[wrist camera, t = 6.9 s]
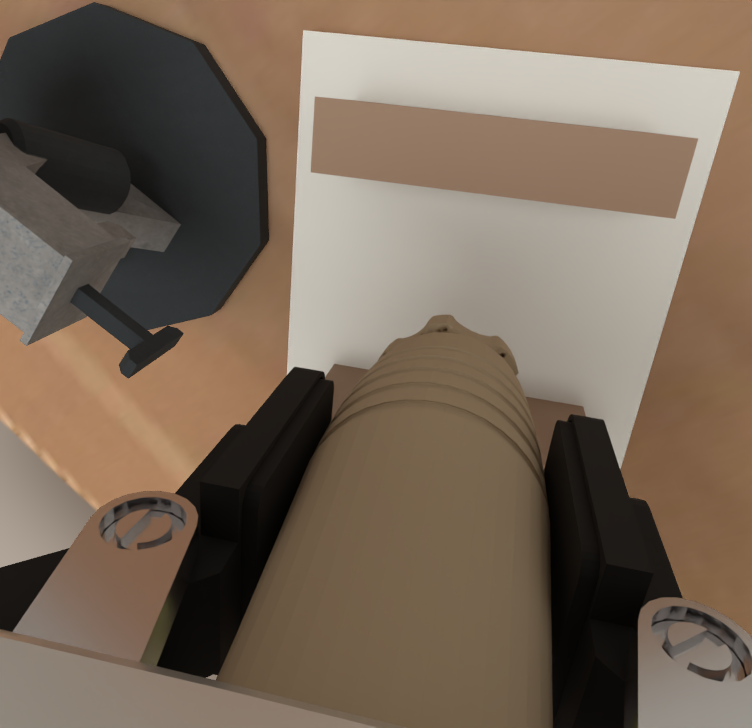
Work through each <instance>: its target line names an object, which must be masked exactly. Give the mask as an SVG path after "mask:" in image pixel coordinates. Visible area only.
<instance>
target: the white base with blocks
mask: <svg viewBox="0 0 752 728" xmlns="http://www.w3.org/2000/svg"><path fill="white" fill-rule="evenodd" d="M739 73H740V72H739V71H729V70H718V69H708V68H697V67H687V66H676V65H665V64H655V63H644V62H634V61H623V60H612V59H602V58H591V57H581V56H570V55H559V54H549V53H538V52H528V51H517V50H507V49H496V48H485V47H475V46H464V45H454V44H443V43H432V42H422V41H411V40H401V39H390V38H379V37H369V36H358V35H348V34H337V33H327V32H316V31H305V30H303V46H302V67H301V88H300V109H299V130H298V151H297V172H296V193H295V214H294V235H293V256H292V277H291V298H290V319H289V340H288V361H287V375H288V373H289V372H290V371H291V370H292V368H294V367H300V368H306V369H312V370H318V371H323V372H324V374H325V380H331V381H333V382H334V396H333V408H332V419H333V417H334V416H335V414H336V413H337V411H338V410H339V408H340V407H341V405H342V404H343V402H344V401H345V399H346V398H347V396H348V395H349V394H350V393H351V391H352V390H353V388H354V387H355V386H356V384H357V383H358V382H359V381H360V380H361V378H362V377H363V376H364V375H365V374H366V373H367V372H368V370H369V369H370V368H371V367H372V366H373V365H374V364H375V363H376V362H377V361H378V359H379V357H380V356H381V355H382V353H383V352H384V350H385V349H386V348H387V347H388V346H389V344H390V343H392V342H393V341H394V340H396V339H397V338H406V337H410V336H412V335H414V334H416V333H417V332H419V331H420V330H421V329H422V328H424V327H425V325H426V324H427V322H428V321H429V319H430V318H432V317H433V316H436V315H449V314H450V315H452V316H453V317H454V318H455V320H456V321H457V322H459V323H460V324H461V325H462V326H464V327H466V328H467V329H469V330H471V331H473V332H476V333H478V334H481V335H485V336H499V337H500V338H501V339H502V340H503V341H504V342H505V343H506V344H507V346H508V347H509V349H510V350H511V352H512V354H513V356H514V358H515V361H516V365H517V368H518V374H517V375H516V377H517V379H518V380H519V383H520V385H521V387H522V389H523V391H524V394H525V397H526V400H527V402H528V405H529V408H530V411H531V414H532V417H533V422H534V426H535V430H536V434H537V439H538V443H539V447H540V452H541V458H542V464H543V470H544V468H545V464H546V460H547V456H548V451H549V447H550V443H551V439H552V435H553V431H554V427H555V424H556V422H557V420H562V421H567V420H568V418H569V416H570V415H571V414H574V415H580V416H586V417H591V418H597V419H603V420H604V422H605V424H606V428H607V431H608V434H609V437H610V440H611V443H612V446H613V449H614V452H615V455H616V458H617V461H618V465H619V468H620V469H621V466H622V462H623V459H624V456H625V452H626V449H627V446H628V442H629V439H630V436H631V432H632V429H633V426H634V422H635V419H636V416H637V412H638V409H639V406H640V402H641V399H642V396H643V392H644V389H645V386H646V383H647V379H648V376H649V373H650V369H651V366H652V363H653V359H654V356H655V353H656V349H657V346H658V343H659V339H660V336H661V333H662V329H663V326H664V323H665V319H666V316H667V313H668V309H669V306H670V303H671V299H672V296H673V293H674V289H675V286H676V283H677V280H678V276H679V273H680V270H681V266H682V263H683V260H684V256H685V253H686V250H687V246H688V243H689V240H690V236H691V233H692V230H693V226H694V223H695V220H696V216H697V213H698V210H699V206H700V203H701V200H702V196H703V193H704V190H705V186H706V183H707V180H708V176H709V173H710V170H711V167H712V163H713V160H714V157H715V153H716V150H717V147H718V143H719V140H720V137H721V133H722V130H723V127H724V123H725V120H726V117H727V113H728V110H729V107H730V103H731V100H732V97H733V93H734V90H735V87H736V83H737V80H738V77H739ZM331 421H332V420H331Z"/></svg>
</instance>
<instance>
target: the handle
mask: <svg viewBox="0 0 752 728" xmlns="http://www.w3.org/2000/svg"><path fill="white" fill-rule="evenodd" d="M517 374H518V368H517V365H516V361H515V358H514V356H513V354H512V352H511V350H510V349H509V347H508V346H507V344H506V343H505V342H504V341H503V340H502V339H501V338H500V337H499V336H485V335H481V334H478V333H476V332H473V331H471V330H469V329H467V328H466V327H464V326H462V325H461V324H460V323H459V322H457V321H456V320H455V318H454V317H453V316H452V315H450V314H449V315H436V316H433V317H432V318H430V319H429V321H428V322H427V324H426V325H425V327H424V328H422V329H421V330H420V331H419V332H417V333H416V334H414V335H412V336H410V337H406V338H397V339H396V340H394V341H393V342H392V343H390V344H389V346H388V347H387V348H386V349H385V350H384V352H383V353H382V355H381V356H380V357H379V359H378V361H377V362H376V363H375V364H374V365H373V366H372V367H371V368H370V369H369V370H368V372H367V373H366V374H365V375H364V376H363V377H362V378H361V380H360V381H359V382H358V383H357V384H356V386H355V387H354V388H353V390H352V391H351V393H350V394H349V395H348V396H347V398H346V399H345V401H344V402H343V404H342V405H341V407H340V408H339V410H338V411H337V413H336V414H335V416H334V417H333V419H332V421H331V422H330V424H329V426H328V428H327V429H326V431H325V434H324V435H323V437H322V438H321V440H320V442H319V444H318V446H317V448H316V449H315V451H314V454H313V456H312V458H311V459H310V461H309V463H308V466H307V468H306V470H305V473H304V475H303V477H302V480H301V482H300V484H299V487H298V489H297V491H296V494H295V496H294V499H293V501H292V503H291V506H290V508H289V511H288V513H287V515H286V518H285V520H284V522H283V525H282V527H281V530H280V532H279V534H278V537H277V539H276V541H275V544H274V546H273V549H272V551H271V553H270V556H269V558H268V560H267V563H266V565H265V568H264V570H263V572H262V575H261V577H260V579H259V582H258V584H257V587H256V589H255V591H254V594H253V596H252V598H251V601H250V603H249V606H248V608H247V610H246V613H245V615H244V617H243V620H242V622H241V625H240V627H239V629H238V632H237V634H236V636H235V638H234V641H233V643H232V645H231V647H230V650H229V652H228V654H227V656H226V659H225V661H224V663H223V665H222V668H221V670H220V672H219V674H218V676H217V679H216V681H220V682H224V683H228V684H232V685H236V686H240V687H244V688H249V689H253V690H257V691H261V692H265V693H269V694H273V695H277V696H281V697H285V698H289V699H293V700H297V701H301V702H305V703H309V704H313V705H317V706H321V707H326V708H330V709H334V710H338V711H342V712H346V713H350V714H354V715H358V716H362V717H366V718H370V719H374V720H378V721H382V722H386V723H390V724H394V725H398V726H402V727H406V728H553V700H552V618H551V536H550V517H549V507H548V499H547V492H546V484H545V476H544V470H543V464H542V458H541V452H540V447H539V443H538V439H537V434H536V430H535V426H534V422H533V417H532V414H531V411H530V408H529V405H528V402H527V400H526V397H525V394H524V391H523V389H522V387H521V385H520V383H519V380H518V379H517V377H516V375H517Z"/></svg>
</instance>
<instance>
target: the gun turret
mask: <svg viewBox="0 0 752 728" xmlns="http://www.w3.org/2000/svg"><path fill="white" fill-rule="evenodd" d="M268 240H269V227H268V192H267V156H266V138H265V136H264V135H263V133H262V132H261V130H260V129H259V127H258V126H257V124H256V122H255V121H254V119H253V118H252V116H251V115H250V113H249V112H248V110H247V109H246V107H245V106H244V104H243V103H242V101H241V100H240V98H239V97H238V95H237V94H236V92H235V91H234V89H233V87H232V86H231V84H230V83H229V81H228V80H227V78H226V77H225V75H224V74H223V72H222V71H221V69H220V68H219V66H218V65H217V63H216V62H215V60H214V59H213V57H212V55H211V54H210V52H209V51H208V49H207V48H206V46H205V45H203V44H201V43H198V42H196V41H193V40H191V39H188V38H186V37H184V36H181V35H179V34H176V33H174V32H171V31H169V30H166V29H164V28H161V27H159V26H156V25H154V24H151V23H149V22H147V21H144V20H142V19H139V18H137V17H134V16H132V15H129V14H127V13H124V12H122V11H119V10H117V9H114V8H112V7H110V6H106V5H102V4H99V3H95V2H94V3H91V4H89V5H86V6H84V7H82V8H79V9H77V10H75V11H72V12H70V13H67V14H65V15H63V16H60V17H58V18H55V19H53V20H51V21H48V22H46V23H43V24H41V25H39V26H36V27H34V28H32V29H29V30H27V31H24V32H22V33H20V34H17V35H15V36H12V37H10V38H9V40H8V42H7V45H6V47H5V50H4V52H3V54H2V57H1V59H0V314H1V315H2V316H3V317H5V318H6V319H7V320H8V321H10V322H11V323H12V324H14V325H15V326H16V327H18V328H19V329H20V330H21V331H23V332H24V333H23V335H22V337H21V339H20V341H21V342H22V343H23V344H25V345H26V346H27V345H29V344H31V343H33V342H35V341H38V340H40V339H42V338H44V337H46V336H48V335H50V334H52V333H54V332H56V331H58V330H60V329H62V328H65V327H67V326H69V325H71V324H73V323H75V322H77V321H79V320H81V319H83V318H85V317H87V316H88V317H90V318H91V319H92V320H93V321H95V322H96V323H97V324H99V325H100V326H101V327H102V328H104V329H105V330H106V331H108V332H109V333H110V334H111V335H113V336H114V337H115V338H116V339H118V340H119V341H120V342H122V343H123V344H124V345H125V346H127V347H128V348H129V349H130V350H128V351H127V353H126V354H125V356H124V358H123V359H122V361H121V362H120V364H119V367H120V371H121V373H122V374H123V375H124V376H126V377H127V378H130V377H131V376H133V375H134V374H136V373H137V372H138V371H140V370H141V369H143V368H144V367H146V366H147V365H148V364H150V363H151V362H153V361H154V360H156V359H157V358H158V357H160V356H161V355H163V354H164V353H166V352H167V351H168V350H170V349H171V348H173V347H174V346H175V345H176V344H177V342H178V341H179V339H180V338H181V337H182V335H183V334H184V333H183V332H181V331H180V330H179V329H178V328H174V327H170V326H167V325H171V324H175V323H180V322H184V321H188V320H192V319H197V318H201V317H205V316H209V315H212V314H214V313H215V312H216V311H218V310H219V309H221V307H222V306H223V305H224V303H225V302H226V300H227V299H228V297H229V296H230V295H231V293H232V292H233V290H234V289H235V287H236V286H237V285H238V283H239V282H240V280H241V279H242V278H243V276H244V275H245V273H246V272H247V270H248V269H249V268H250V266H251V265H252V263H253V262H254V260H255V259H256V258H257V256H258V255H259V253H260V252H261V250H262V249H263V248H264V246H265V245H266V243H267V242H268ZM163 326H167V327H165V328H163V329H162V330H160V331H159V332H157V333H155V334H154V335H153V334H151V333H150V332H149V331H147V330H150V329H154V328H158V327H163Z"/></svg>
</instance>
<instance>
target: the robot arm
mask: <svg viewBox="0 0 752 728" xmlns="http://www.w3.org/2000/svg"><path fill="white" fill-rule="evenodd" d="M333 396H334V382H333V381H331V380H325V374H324V372H323V371H318V370H312V369H306V368H300V367H294V368H292V370H291V371H290V372H289V373H288V375H287V376H286V377H285V378H284V379H283V381H282V382H281V383H280V384H279V386H278V387H277V388H276V389H275V390H274V392H273V393H272V394H271V395H270V396H269V398H268V399H267V400H266V401H265V403H264V404H263V405H262V406H261V407H260V409H259V410H258V411H257V412H256V414H255V415H254V416H253V417H252V418H251V420H250V421H249V422H248V423H247V425H246V426H245V425H240V424H236V425H234V426H233V427H232V428H231V429H230V430H229V431H228V432H227V434H226V435H225V436H224V437H223V438H222V439H221V441H220V442H219V443H218V444H217V445H216V446H215V448H214V449H213V450H212V451H211V452H210V453H209V455H208V456H207V457H206V458H205V459H204V460H203V461H202V463H201V464H200V465H199V466H198V467H197V468H196V470H195V471H194V472H193V473H192V474H191V475H190V477H189V478H188V479H187V480H186V481H185V482H184V484H183V485H182V486H181V487H180V488H179V489H178V491H177V492H176V493H175V494H174V493H169V492H163V491H143V492H137V493H132V494H127V495H125V496H122V497H119V498H116V499H114V500H112V501H110V502H108V503H107V504H105V505H104V506H102V507H100V508H99V509H98V510H97V511H96V512H95V513H94V514H93V515H92V517H91V518H90V519H89V521H88V522H87V523H86V525H85V526H84V528H83V530H82V531H81V532H80V534H79V535H78V537H77V538H76V540H75V541H74V543H73V544H72V545H71V547H70V548H68V549H65V550H61V551H58V552H54V553H51V554H47V555H44V556H41V557H37V558H33V559H30V560H26V561H22V562H19V563H15V564H12V565H8V566H5V567H1V568H0V728H406V727H402V726H398V725H394V724H390V723H386V722H382V721H378V720H374V719H370V718H366V717H362V716H358V715H354V714H350V713H346V712H342V711H338V710H334V709H330V708H326V707H321V706H317V705H313V704H309V703H305V702H301V701H297V700H293V699H289V698H285V697H281V696H277V695H273V694H269V693H265V692H261V691H257V690H253V689H249V688H244V687H240V686H236V685H232V684H228V683H224V682H220V681H215V680H211V679H207V678H206V677H208V676H211V675H212V674H215V675H218V674H219V672H220V670H221V668H222V665H223V663H224V661H225V659H226V656H227V654H228V652H229V650H230V647H231V645H232V643H233V641H234V638H235V636H236V634H237V632H238V629H239V627H240V625H241V622H242V620H243V617H244V615H245V613H246V610H247V608H248V606H249V603H250V601H251V598H252V596H253V594H254V591H255V589H256V587H257V584H258V582H259V579H260V577H261V575H262V572H263V570H264V568H265V565H266V563H267V560H268V558H269V556H270V553H271V551H272V549H273V546H274V544H275V541H276V539H277V537H278V534H279V532H280V530H281V527H282V525H283V522H284V520H285V518H286V515H287V513H288V511H289V508H290V506H291V503H292V501H293V499H294V496H295V494H296V491H297V489H298V487H299V484H300V482H301V480H302V477H303V475H304V473H305V470H306V468H307V466H308V463H309V461H310V459H311V458H312V456H313V454H314V451H315V449H316V448H317V446H318V444H319V442H320V440H321V438H322V437H323V435H324V434H325V431H326V429H327V428H328V426H329V424H330V422H331V420H332V408H333ZM544 476H545V484H546V492H547V499H548V507H549V517H550V536H551V618H552V700H553V728H752V638H751V636H750V635H749V634H748V633H747V632H746V631H744V630H743V629H742V628H741V627H740V626H739V625H737V624H736V623H735V622H734V621H733V620H731V619H730V618H728V617H726V616H725V615H723V614H721V613H720V612H718V611H716V610H715V609H712V608H710V607H708V606H705V605H703V604H700V603H698V602H695V601H691V600H687V599H683V598H682V595H681V592H680V590H679V587H678V584H677V582H676V579H675V576H674V573H673V571H672V568H671V565H670V562H669V560H668V557H667V554H666V552H665V549H664V546H663V543H662V541H661V538H660V535H659V532H658V530H657V527H656V524H655V522H654V519H653V516H652V513H651V511H650V508H649V506H648V504H647V502H646V501H644V500H640V499H635V498H630V497H629V495H628V492H627V489H626V486H625V483H624V480H623V477H622V474H621V471H620V468H619V465H618V461H617V458H616V455H615V452H614V449H613V446H612V443H611V440H610V437H609V434H608V431H607V428H606V424H605V422H604V420H603V419H597V418H591V417H586V416H580V415H574V414H571V415H570V416H569V418H568V420H567V421H562V420H557V422H556V424H555V427H554V431H553V435H552V439H551V443H550V447H549V451H548V456H547V460H546V464H545V468H544Z"/></svg>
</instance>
